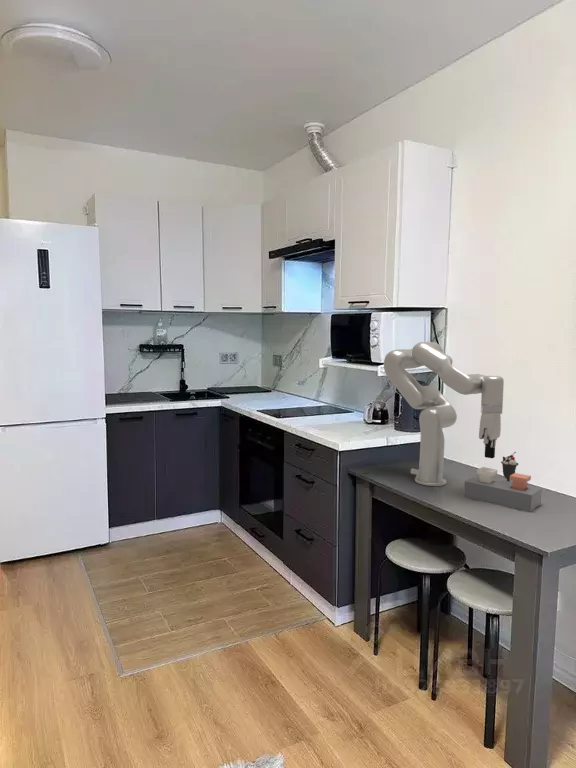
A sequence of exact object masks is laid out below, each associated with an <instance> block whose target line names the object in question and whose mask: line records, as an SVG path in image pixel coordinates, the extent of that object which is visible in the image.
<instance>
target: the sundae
mask: <svg viewBox="0 0 576 768" xmlns="http://www.w3.org/2000/svg"><path fill="white" fill-rule="evenodd" d="M516 453H517V452H516V451H514V452H513V453H512V454H510V455H508V456H506V457H505V456H502V461H500V463H501V464H502V474H503V477H504V478H505V479H506V481H509V482H511V480H510V475H512V474H514V473H516V470H517V467H518V465H519V462H517V461H516V457H514V454H516Z"/></svg>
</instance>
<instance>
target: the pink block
mask: <svg viewBox="0 0 576 768" xmlns="http://www.w3.org/2000/svg"><path fill="white" fill-rule="evenodd" d="M531 478H532V475H527V474H521V473H518V472H515V473H514V474H512V475H510V481H511V482H512V488H513V489H518V490H523V491H525V490H526V489H527V485H528V482H530V481H531V480H532V479H531Z"/></svg>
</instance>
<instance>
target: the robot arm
mask: <svg viewBox="0 0 576 768" xmlns="http://www.w3.org/2000/svg"><path fill="white" fill-rule="evenodd" d="M423 366H424V367H426V368H427V369H429V370H431V371H432V372H433V373H435V374H437V375H438V377H439V379H440V380H441V381H442V383H444V385H446V386H447V387H448V388H450V389H451V390H453V391H455V392H457V393H458V394H460V395H465V396H466V395H467V396H469V395H477V394H478V395H479V394H481V397H480V400H481V401H480V404H481V405H480V413H481V415H480V419H479V428H478V429H479V432H478V439H480V440H483V444H484V457H485V458H487V459H494V458H495V457H496V456H495V455H496V443H497V440H498V439H499V438H500V436H501V428H502V427H501V426H502V423H501V421H502V419H501V418H502V417H501V415H502V414H503V408H504V407H503V406H504V405H503V402H504V384H505V382H504V380H505V379H504V378H503V376H499V375H483V374H480V373H478V374H477V373H476V374H465V373H463V372H462V371H460V370H458V369H457V368H456V367H454V366H453V358H452V357H451V356H450V355H448V354H446V353H444V351H443V348H442V346H441V345H440V344H439V343H437V342H434V341H420V342H417V343H416V344H414V346H413V347H412V348H411V349H406V348H404V349H393V350H391V351H389V352H388V353H386V355H385V357H384V359H383V368H384V369H383V370H384V373H385V375H386V377H387V378H388V380H389V381H390V382H391V383H392V384H393V385H394V387H395V388H396V389H397V390H398V393H400V394H401V396H402V397H403V398H404V399H405V401H406V402H407V403H408V405H409V406H410V407H411V408H413V409H414V410H421V412H420V413H419V416H418V418H419V419H418V421H419V429H420V431H419V432H420V447H419V462H418V463H419V464H418V465H419V466H418V469H417V468H411V469H410V474H411V475H415V477H414V481H415V483H417V484H419V485H423V486H427V487H443V486H445V485H446V484H447V479H445V478H443V477H444V476H443V475H444V473H443V472H444V460H445V459H444V456H445V435H444V432H443V429H444V428H445V429H446V428H450V427H451V426H453V425H455V424H456V421H457V415H458V414H457V412H456V410H455V408H454V407H453V406H452V404H451V403H450V402H449V401H448V399H447V398H446V397H445V396H444V395H443V393H442V392H441V391H440V390H439V389H438V388H436V387H435V386H431V385H421V384H420V383H419V382H418V381H417V380H416V379H417V378H415V377H414V375H412V374H411V373H410V372H409V371H407V370H411V369H416V368H420V367H423Z"/></svg>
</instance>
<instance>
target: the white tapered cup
mask: <svg viewBox="0 0 576 768" xmlns="http://www.w3.org/2000/svg"><path fill="white" fill-rule="evenodd" d="M476 475H479V476H480V479H479V482H484V483H489V484H491V483H493V482H494V479H495V476H496V475H498V469H497V468H496V469H495V468H490V467H486V466H481V467H479V468H477V470H476Z"/></svg>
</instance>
